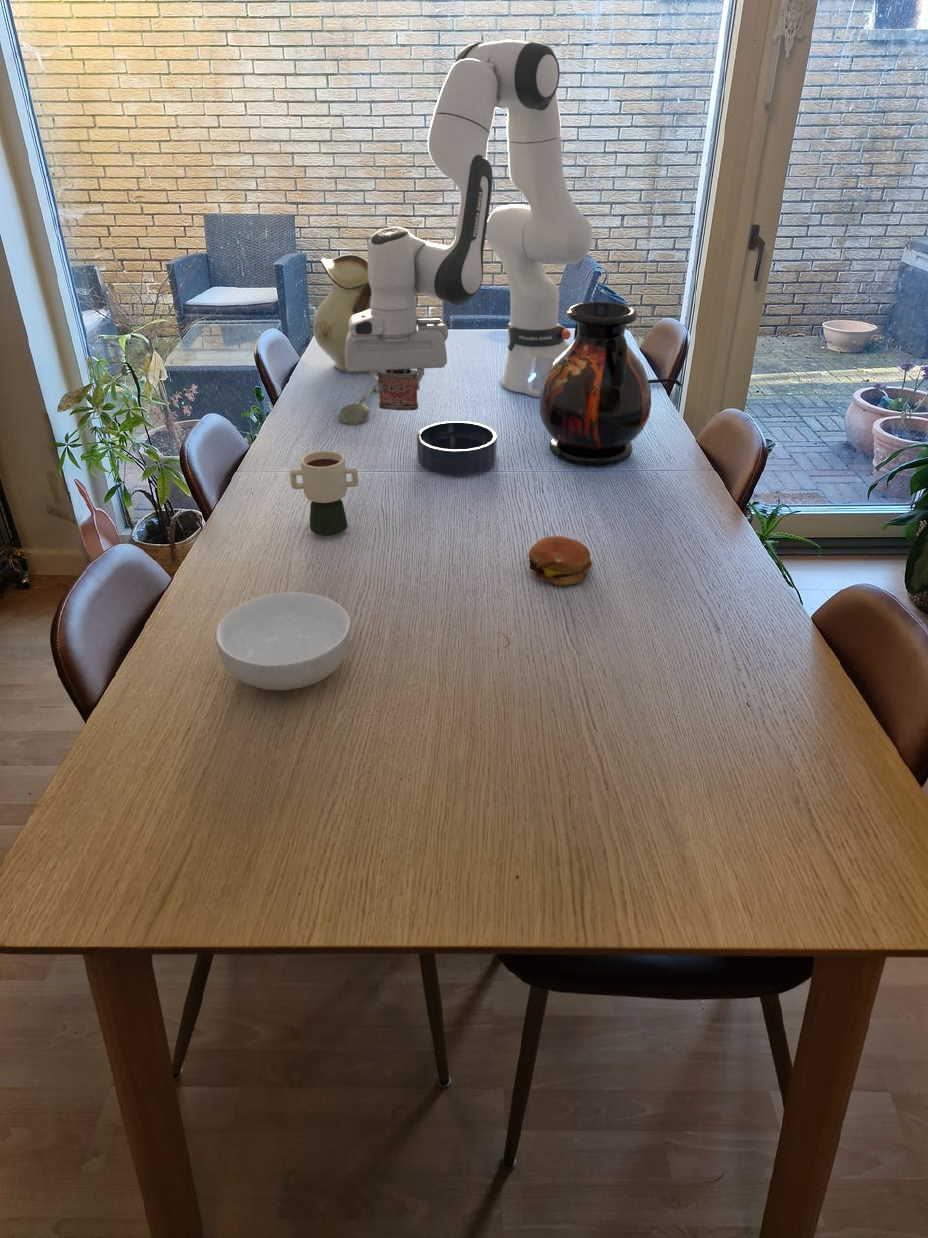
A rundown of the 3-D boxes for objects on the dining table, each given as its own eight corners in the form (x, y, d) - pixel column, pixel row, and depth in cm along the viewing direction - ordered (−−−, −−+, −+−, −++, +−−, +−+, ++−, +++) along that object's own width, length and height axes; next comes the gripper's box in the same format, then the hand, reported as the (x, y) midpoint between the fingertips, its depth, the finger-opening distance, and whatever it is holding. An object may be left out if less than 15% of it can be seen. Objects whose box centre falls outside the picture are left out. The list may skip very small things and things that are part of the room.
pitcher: (330, 351, 235) (322, 250, 221) (417, 355, 232) (415, 253, 218) (305, 377, 216) (295, 269, 202) (400, 382, 213) (396, 273, 200)
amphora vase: (520, 440, 183) (526, 299, 167) (615, 428, 188) (628, 291, 173) (562, 481, 165) (572, 329, 150) (664, 467, 171) (684, 319, 156)
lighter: (419, 405, 182) (418, 356, 176) (416, 411, 179) (415, 362, 173) (380, 403, 182) (378, 355, 177) (377, 409, 180) (375, 360, 174)
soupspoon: (334, 425, 191) (364, 429, 190) (334, 411, 189) (363, 414, 188) (363, 389, 208) (390, 392, 208) (363, 375, 206) (390, 378, 206)
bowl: (490, 445, 180) (491, 420, 177) (500, 476, 167) (501, 449, 164) (416, 448, 179) (415, 422, 176) (420, 479, 166) (419, 452, 163)
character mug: (361, 520, 152) (357, 449, 145) (361, 539, 146) (356, 466, 139) (297, 522, 151) (289, 451, 144) (294, 542, 145) (286, 468, 138)
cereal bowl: (294, 727, 106) (288, 680, 102) (195, 682, 113) (186, 637, 109) (379, 657, 118) (376, 613, 114) (284, 621, 125) (279, 578, 122)
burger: (579, 554, 142) (581, 528, 139) (598, 583, 134) (600, 556, 132) (520, 560, 140) (521, 534, 138) (535, 590, 133) (536, 563, 130)
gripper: (446, 313, 174) (447, 382, 182) (342, 317, 173) (347, 386, 180) (448, 322, 169) (450, 393, 177) (341, 326, 167) (347, 397, 175)
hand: (397, 389), depth 179 cm, fingers closed on lighter, 6 cm apart
